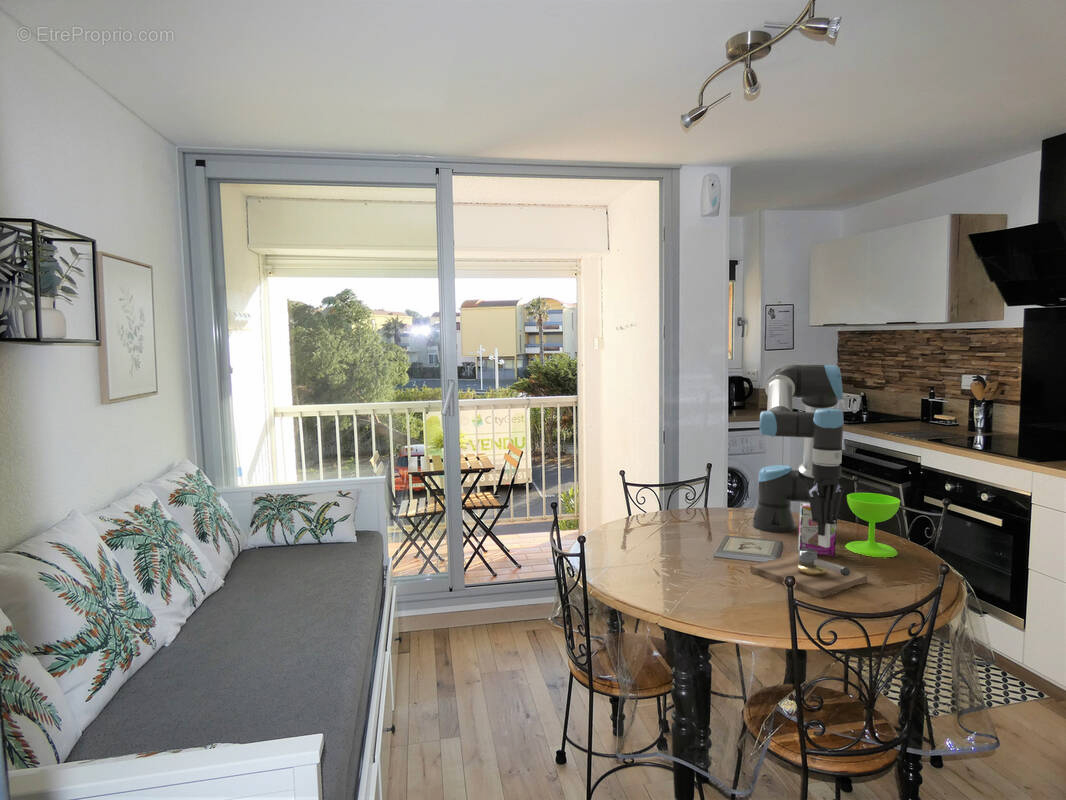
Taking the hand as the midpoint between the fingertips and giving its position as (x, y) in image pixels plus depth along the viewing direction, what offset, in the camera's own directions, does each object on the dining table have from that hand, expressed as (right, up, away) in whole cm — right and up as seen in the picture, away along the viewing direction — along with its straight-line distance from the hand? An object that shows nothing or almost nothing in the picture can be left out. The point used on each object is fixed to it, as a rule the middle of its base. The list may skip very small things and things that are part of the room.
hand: (823, 546), depth 184 cm
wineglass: (+32, -10, +35) cm, 48 cm away
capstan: (+3, -10, +6) cm, 12 cm away
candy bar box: (+12, -10, +33) cm, 36 cm away
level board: (0, -12, +11) cm, 16 cm away
